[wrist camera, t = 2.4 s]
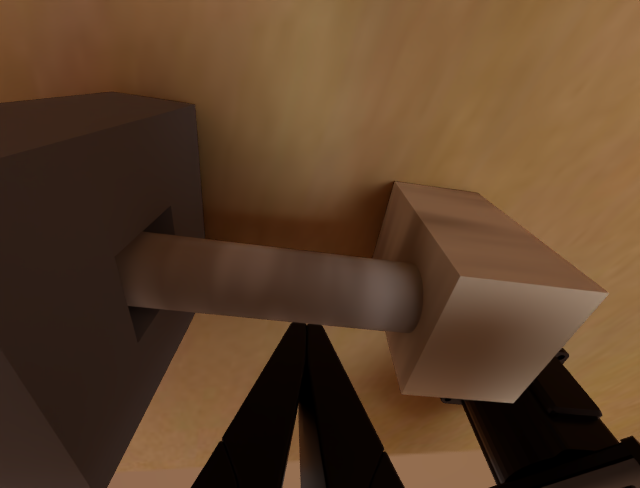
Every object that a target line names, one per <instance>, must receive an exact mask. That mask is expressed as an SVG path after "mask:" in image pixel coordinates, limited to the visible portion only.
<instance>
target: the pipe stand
mask: <svg viewBox="0 0 640 488" xmlns="http://www.w3.org/2000/svg"><path fill="white" fill-rule="evenodd" d="M115 261H116V265H117V268H118V272H119V276H120V279H121V283H122V287H123V290H124V294H125V298H126V301H127V305H128V306H134V307H144V308H154V309H165V310H175V311H185V312H195V313H205V314H216V315H226V316H236V317H246V318H257V319H267V320H277V321H287V322H299V323H308V324H319V325H328V326H338V327H349V328H359V329H369V330H379V331H385V333H386V337H387V341H388V345H389V348H390V352H391V356H392V360H393V364H394V368H395V372H396V376H397V380H398V383H399V387H400V391H401V394H404V395H416V396H429V397H441V398H454V399H466V400H479V401H491V402H504V403H514V402H515V401H516V400H517V399H518V398H519V396H520V395H521V394H522V393H523V392H524V391H525V389H526V388H527V387H528V386H529V385H530V384H531V383H532V381H533V380H534V379H535V378H536V377H537V376H538V375H539V373H540V372H541V371H542V370H543V369H544V368H545V367H546V365H547V364H548V363H549V362H550V361H551V360H552V358H553V357H554V356H555V355H556V354H557V353H558V352H559V350H560V349H561V348H562V347H563V346H564V345H565V344H566V342H567V341H568V340H569V339H570V338H571V337H572V336H573V334H574V333H575V332H576V331H577V330H578V329H579V327H580V326H581V325H582V324H583V323H584V322H585V321H586V319H587V318H588V317H589V316H590V315H591V314H592V313H593V311H594V310H595V309H596V308H597V307H598V306H599V304H600V303H601V302H602V301H603V300H604V299H605V298H606V296H607V295H608V294H609V293H608V292H607V291H606V290H604V289H603V288H602V287H600V286H599V285H598V284H597V283H595V282H594V281H593V280H591V279H590V278H589V277H587V276H586V275H585V274H583V273H582V272H581V271H579V270H578V269H577V268H576V267H574V266H573V265H572V264H570V263H569V262H568V261H566V260H565V259H564V258H562V257H561V256H560V255H559V254H557V253H556V252H555V251H553V250H552V249H551V248H549V247H548V246H547V245H545V244H544V243H543V242H541V241H540V240H539V239H538V238H536V237H535V236H534V235H532V234H531V233H530V232H528V231H527V230H526V229H524V228H523V227H522V226H521V225H519V224H518V223H517V222H515V221H514V220H513V219H511V218H510V217H509V216H507V215H506V214H505V213H503V212H502V211H501V210H500V209H498V208H497V207H496V206H494V205H493V204H492V203H490V202H489V201H488V200H486V199H485V198H484V197H483V196H481V195H480V194H479V193H474V192H467V191H460V190H453V189H446V188H439V187H431V186H424V185H417V184H410V183H403V182H396V181H395V182H394V185H393V189H392V192H391V196H390V199H389V203H388V206H387V210H386V213H385V216H384V220H383V223H382V227H381V230H380V234H379V237H378V241H377V244H376V248H375V251H374V255H373V258H372V259H371V258H363V257H354V256H346V255H338V254H329V253H321V252H312V251H304V250H295V249H287V248H278V247H270V246H261V245H253V244H244V243H236V242H227V241H219V240H211V239H202V238H194V237H185V236H177V235H168V234H160V233H151V232H143V231H142V232H141V233H140V234H139V235H138V236H137V237H136V238H135V239H134V240H132V241H131V242H130V243H129V244H128V245H127V246H126V247H125V248H124V249H123V250H122V251H120V252H119V253H118V254H117V255H116V256H115Z"/></svg>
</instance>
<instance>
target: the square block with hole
mask: <svg viewBox="0 0 640 488" xmlns="http://www.w3.org/2000/svg"><path fill="white" fill-rule="evenodd" d="M142 231H143V232H151V233H160V234H168V235H177V236H185V237H194V238H202V239H205V232H204V219H203V205H202V191H201V178H200V164H199V151H198V137H197V123H196V110H195V104H189V103H182V102H176V101H169V100H163V99H156V98H150V97H143V96H137V95H130V94H124V93H117V92H104V93H95V94H85V95H75V96H65V97H55V98H45V99H35V100H26V101H16V102H6V103H0V488H107V487H108V485H109V483H110V481H111V479H112V477H113V475H114V473H115V471H116V469H117V467H118V465H119V463H120V461H121V459H122V457H123V455H124V453H125V451H126V449H127V447H128V445H129V443H130V441H131V439H132V437H133V435H134V433H135V431H136V429H137V428H138V426H139V424H140V422H141V420H142V418H143V416H144V414H145V412H146V410H147V408H148V406H149V404H150V402H151V400H152V398H153V396H154V394H155V392H156V390H157V388H158V386H159V384H160V382H161V380H162V378H163V376H164V374H165V372H166V370H167V368H168V366H169V364H170V362H171V360H172V358H173V356H174V354H175V352H176V350H177V348H178V346H179V344H180V343H181V341H182V339H183V337H184V335H185V333H186V331H187V329H188V327H189V325H190V323H191V321H192V319H193V317H194V315H195V312H185V311H175V310H165V309H154V308H144V307H134V306H128V305H127V301H126V298H125V294H124V290H123V287H122V283H121V279H120V276H119V272H118V268H117V265H116V261H115V256H116V255H117V254H118V253H119V252H120V251H122V250H123V249H124V248H125V247H126V246H127V245H128V244H129V243H130V242H131V241H132V240H134V239H135V238H136V237H137V236H138V235H139V234H140V233H141V232H142Z"/></svg>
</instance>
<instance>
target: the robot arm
mask: <svg viewBox="0 0 640 488" xmlns="http://www.w3.org/2000/svg"><path fill="white" fill-rule="evenodd" d="M568 357H569V354H568V353H567V352H566V351H565V350H564V349H563V348H561V349H560V350H559V352H558V353H557V354H556V355H555V356H554V357H553V358H552V360H551V361H550V362H549V363H548V364H547V365H546V367H545V368H544V369H543V370H542V371H541V372H540V373H539V375H538V376H537V377H536V378H535V379H534V380H533V381H532V383H531V384H530V385H529V386H528V387H527V388H526V389H525V391H524V392H523V393H522V394H521V395H520V396H519V398H518V399H517V400H516V401H515V402H514V403H504V402H491V401H479V400H466V399H454V398H441V397H440V399H441V401H442V402H443V403H449V404H461V405H463V408H464V410H465V412H466V415H467V417H468V419H469V422H470V424H471V426H472V429H473V431H474V433H475V436H476V438H477V440H478V443H479V445H480V447H481V449H482V452H483V454H484V456H485V458H486V461H487V463H488V465H489V468H490V470H491V472H492V474H493V477H494V479H495V482H496V484H497V485H496V486H493V487H490V488H640V443H639V442H638V441H637V440H636V439H635V438H634V437H633V436H630V437H627V438H624V439H621V440H620V441H621V443H619V442H618V440H617V439H616V438H615V437H614V436H613V434H612V433H611V432H610V431H609V429H608V428H607V427H606V426H605V424H604V423H603V422H602V421H601V419H600V417H601V416H602V413H601V411H600V409H599V408H598V406H597V405H596V404H595V403H594V402H593V400H592V399H591V398H590V397H589V396H588V394H587V393H586V392H585V391H584V390H583V388H582V387H581V386H580V385H579V384H578V382H577V381H576V380H575V379H574V378H573V376H572V375H571V374H570V373H569V372H568V370H567V369H566V368H565V367H564V366H563V363H564V362H565V361H566V360H567V359H568ZM298 404H299V446H300V474H301V475H300V476H301V488H404V485H403V484H402V482H401V480H400V478H399V476H398V474H397V472H396V470H395V468H394V467H393V464H392V463H391V461H390V458H389V456H388V455H387V453H386V452H383V451H384V447H383V445H382V443H381V441H380V439H379V437H378V435H377V433H376V431H375V429H374V427H373V425H372V423H371V421H370V419H369V417H368V415H367V413H366V411H365V409H364V407H363V405H362V403H361V401H360V399H359V397H358V395H357V393H356V391H355V389H354V387H353V385H352V383H351V381H350V379H349V377H348V375H347V374H346V372H345V370H344V368H343V366H342V364H341V362H340V360H339V358H338V356H337V354H336V352H335V350H334V348H333V346H332V344H331V342H330V340H329V338H328V336H327V334H326V332H325V330H324V328H323V326H322V325H319V324H308V325H306V324H305V323H299V322H292V323H291V324H290V326H289V328H288V329H287V331H286V333H285V334H284V336H283V338H282V339H281V341H280V343H279V344H278V346H277V348H276V349H275V351H274V353H273V354H272V356H271V357H270V359H269V361H268V362H267V364H266V366H265V367H264V369H263V371H262V372H261V374H260V376H259V377H258V379H257V381H256V382H255V384H254V386H253V387H252V389H251V391H250V392H249V394H248V396H247V397H246V399H245V401H244V402H243V404H242V406H241V407H240V409H239V411H238V412H237V414H236V415H235V417H234V419H233V420H232V422H231V424H230V425H229V427H228V429H227V430H226V432H225V434H224V435H223V437H222V441H220V442H219V443H218V445H217V447H216V448H215V450H214V452H213V453H212V455H211V457H210V458H209V460H208V461H207V463H206V465H205V466H204V468H203V469H202V471H201V472H200V474H199V475H198V477H197V479H196V480H195V482H194V484H193V485H192V487H191V488H282V486H283V481H284V476H285V471H286V465H287V461H288V456H289V451H290V446H291V440H292V435H293V430H294V425H295V420H296V415H297V409H298Z"/></svg>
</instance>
